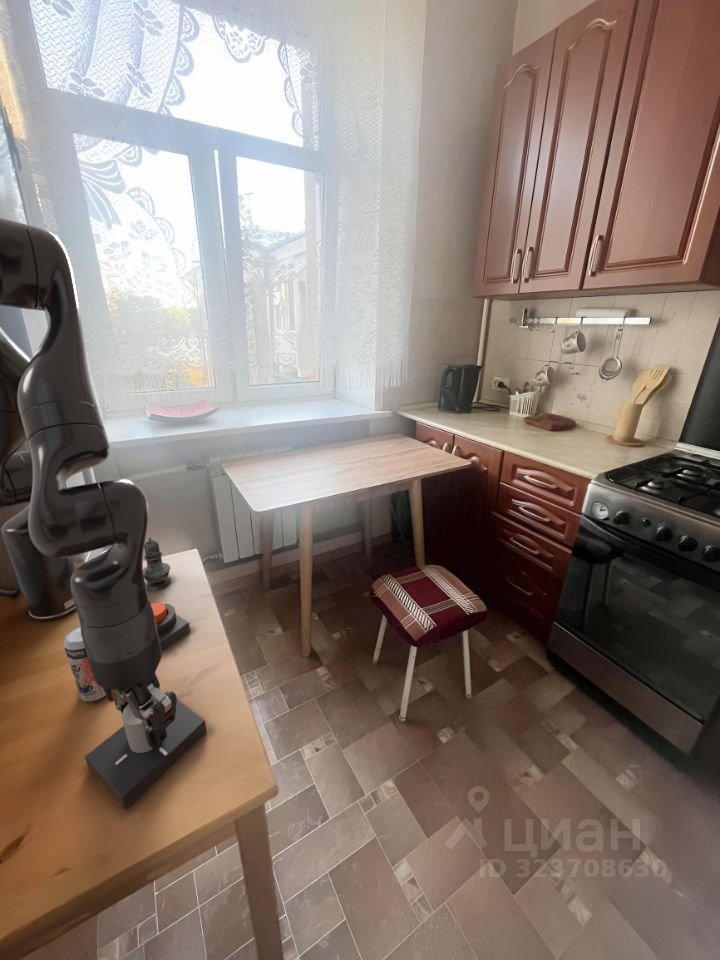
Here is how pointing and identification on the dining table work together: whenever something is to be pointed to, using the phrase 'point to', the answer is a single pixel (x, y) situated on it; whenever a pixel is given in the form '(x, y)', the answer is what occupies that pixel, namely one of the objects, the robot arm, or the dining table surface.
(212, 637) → the dining table surface
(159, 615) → the button
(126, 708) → the timer knob
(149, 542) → the dark grey stone stupa
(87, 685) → the beer can
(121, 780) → the timer panel
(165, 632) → the button block
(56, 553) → the robot arm
